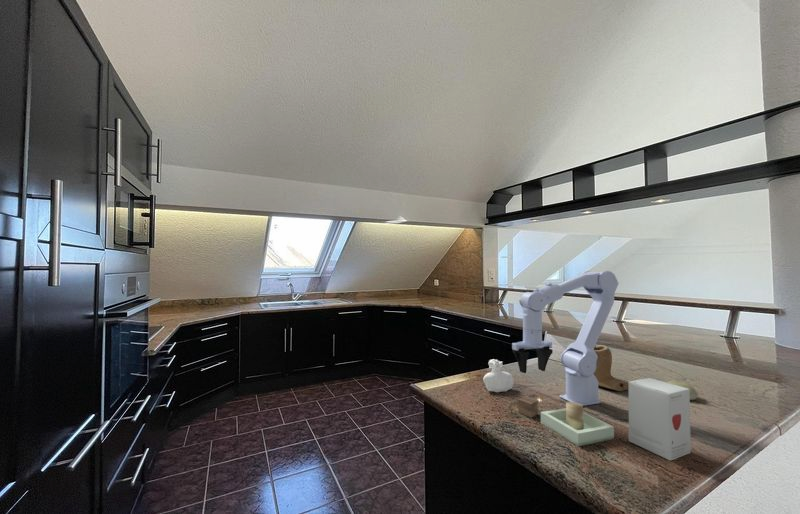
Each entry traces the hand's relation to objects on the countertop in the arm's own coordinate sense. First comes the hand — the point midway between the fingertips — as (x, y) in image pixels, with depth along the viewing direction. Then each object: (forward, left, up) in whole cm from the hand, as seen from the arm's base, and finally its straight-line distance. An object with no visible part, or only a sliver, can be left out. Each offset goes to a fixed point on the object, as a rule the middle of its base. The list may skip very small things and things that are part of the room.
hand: (532, 371), depth 100 cm
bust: (+4, -13, -10) cm, 17 cm away
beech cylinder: (+2, +18, -9) cm, 20 cm away
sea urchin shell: (-55, +10, -10) cm, 57 cm away
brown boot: (-37, -5, -10) cm, 39 cm away
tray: (+2, +18, -10) cm, 21 cm away
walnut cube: (+7, +6, -10) cm, 14 cm away
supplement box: (-11, +30, -10) cm, 34 cm away
